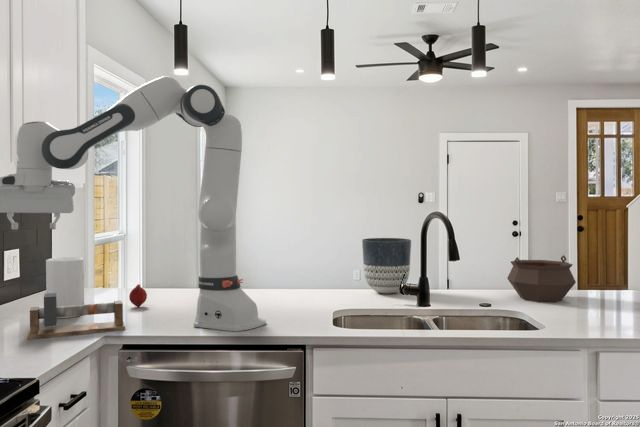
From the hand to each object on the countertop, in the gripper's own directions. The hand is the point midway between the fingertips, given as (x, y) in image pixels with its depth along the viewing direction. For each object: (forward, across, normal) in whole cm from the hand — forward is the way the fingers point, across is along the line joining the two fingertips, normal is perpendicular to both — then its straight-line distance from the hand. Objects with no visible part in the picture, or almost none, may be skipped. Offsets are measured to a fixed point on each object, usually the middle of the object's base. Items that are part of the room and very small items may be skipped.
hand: (34, 229), depth 153 cm
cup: (+30, -7, -24) cm, 39 cm away
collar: (+27, -5, +2) cm, 27 cm away
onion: (+29, -30, -29) cm, 51 cm away
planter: (+27, -124, -21) cm, 129 cm away
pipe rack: (+29, -12, +1) cm, 32 cm away
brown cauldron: (+26, -171, +14) cm, 174 cm away
